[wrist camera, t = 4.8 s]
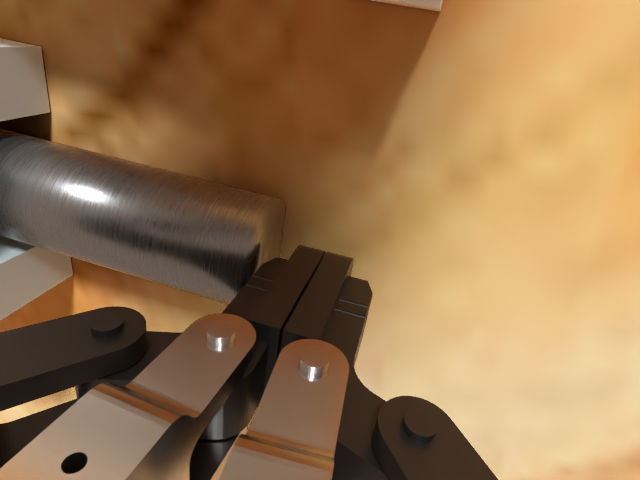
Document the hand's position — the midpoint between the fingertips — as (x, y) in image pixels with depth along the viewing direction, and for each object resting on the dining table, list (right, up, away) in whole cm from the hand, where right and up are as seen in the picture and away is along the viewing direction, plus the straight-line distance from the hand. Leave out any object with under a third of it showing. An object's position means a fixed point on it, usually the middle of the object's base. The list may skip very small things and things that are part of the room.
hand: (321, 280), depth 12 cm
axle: (-9, +3, +3) cm, 10 cm away
